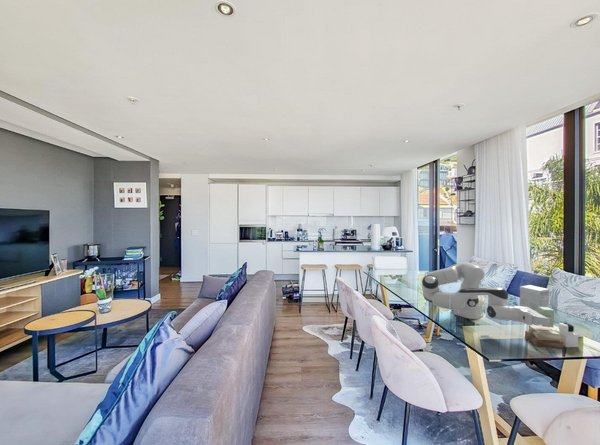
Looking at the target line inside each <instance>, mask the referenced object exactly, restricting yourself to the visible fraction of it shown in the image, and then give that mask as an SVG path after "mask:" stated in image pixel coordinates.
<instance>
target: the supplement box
mask: <svg viewBox="0 0 600 445" xmlns="http://www.w3.org/2000/svg"><path fill="white" fill-rule="evenodd" d="M549 302H550V288H547V287H546V288H545V287H542V286H541V287H540V286H536V285H532V284H528V285H522V286H521V285H520V286H519V306H526V307H529V308H531V309H533V310H534V311H538V307H549V306H550V303H549ZM549 308H550V307H549Z"/></svg>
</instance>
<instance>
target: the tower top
mask: <svg viewBox="0 0 600 445" xmlns="http://www.w3.org/2000/svg"><path fill="white" fill-rule="evenodd" d="M554 330H555V329H553V328H552V327H543V326H541V325H534V324H532V325H528V329H527V331H528V332H530V333H531V334H532V335H534V336H535V337H537V338H538V339H541V340H552V341H560V334H559V333H557V332H556V331H554Z"/></svg>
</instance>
